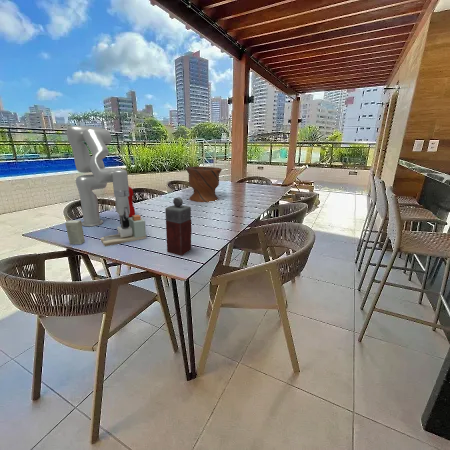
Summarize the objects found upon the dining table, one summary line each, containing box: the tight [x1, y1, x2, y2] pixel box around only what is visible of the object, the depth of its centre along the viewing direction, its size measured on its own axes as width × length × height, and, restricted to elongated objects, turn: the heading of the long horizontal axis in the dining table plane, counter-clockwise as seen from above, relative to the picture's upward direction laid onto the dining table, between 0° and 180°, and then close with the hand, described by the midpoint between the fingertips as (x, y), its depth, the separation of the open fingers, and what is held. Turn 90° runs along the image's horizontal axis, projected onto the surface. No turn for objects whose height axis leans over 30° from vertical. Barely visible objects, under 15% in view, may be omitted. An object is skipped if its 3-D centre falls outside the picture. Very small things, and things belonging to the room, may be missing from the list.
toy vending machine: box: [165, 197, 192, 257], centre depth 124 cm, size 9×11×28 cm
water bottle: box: [128, 186, 136, 218], centre depth 177 cm, size 9×11×25 cm
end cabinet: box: [129, 217, 147, 238], centre depth 142 cm, size 10×6×9 cm, turn 37°
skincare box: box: [64, 219, 86, 245], centre depth 131 cm, size 6×4×12 cm
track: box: [99, 233, 147, 247], centre depth 139 cm, size 10×22×4 cm, turn 127°
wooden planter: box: [185, 166, 223, 203], centre depth 239 cm, size 34×35×29 cm
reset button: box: [131, 214, 142, 221], centre depth 141 cm, size 4×4×3 cm
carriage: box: [116, 215, 133, 238], centre depth 138 cm, size 7×6×12 cm
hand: (124, 225), depth 138 cm, fingers open, 4 cm apart
